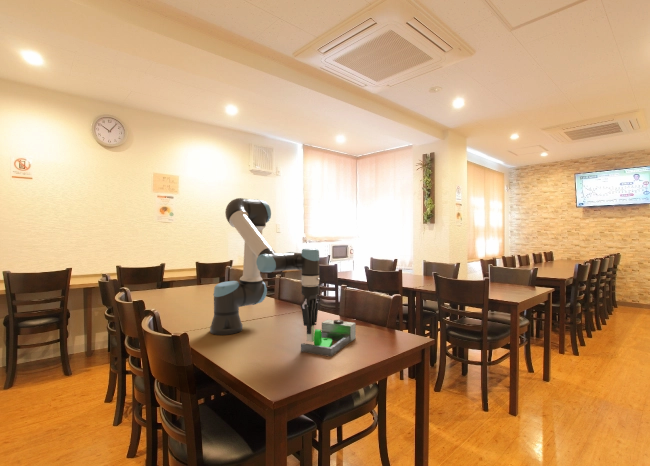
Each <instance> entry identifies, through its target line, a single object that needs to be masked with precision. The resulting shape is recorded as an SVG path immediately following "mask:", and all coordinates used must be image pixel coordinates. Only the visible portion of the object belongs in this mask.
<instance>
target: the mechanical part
mask: <svg viewBox="0 0 650 466" xmlns="http://www.w3.org/2000/svg"><path fill="white" fill-rule="evenodd" d="M321 332H322V328H321V329H316V328H314V341H313V345H318V346H324V347H331V346H332V345H333V340H332V339H331V338H322V334H321Z"/></svg>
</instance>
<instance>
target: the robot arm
mask: <svg viewBox="0 0 650 466" xmlns="http://www.w3.org/2000/svg"><path fill="white" fill-rule="evenodd" d="M271 217H272V210H271V206H270V204H268V202H267V201H265V200H262V199H259V198H257V199H253V198H242V197H239V198H234V199H232V200H231V201H230V202H228V204H227V205H226V208H225V218H226V220H227V223H228V224H229V225H230V226H231V227H233V228H235V230H236V231H237V232H238V234H239V235H240V237H241V238H242V239H243V241H244V245H243V246H244V247H243V249H244V250H243V263H242V264H243V266H242V267H243V269H242V276H240V278H239V281H238V280H230V281H228V280H227V281H222V282H220V283H217V284H216V285H215V286H214V289H213V317H212V321H211V325H210V328H209V332H210V334H212V335H215V336H216V335H217V336H226V335H234V334H237V333H240V332H242V331H243V322H242V320H241V317H240V309H239V308H240V307H246V306H254V305H257V304H260V303H263V302H264V300H265V298H266V297H267V293H268V288H267V284H266V283H265V282H264V281H263V278H262V276H261V273H272V272H273V273H274V272H283V271H285V272H286V271H301V295H302V296H303V303H300V308H301V314H302V322H303V326H305V327H306V342H311V343H312V342H313V343H314V333H315V326H317V322H318V314H319V313H318V312H319V305H320V299H318V295H320V280H321V279H320V259H321V258H320V251H319V249H317V248H302V249H301V252H294V251H290V252H281V253H277V252H276V251H275V250H274V249H273V248H272V246H271V245H270V243H269V242H268V241H267V240H266V239H265V237H264V236H263V229H265V228H266V227H267V226H266V225H267V223H268V222H269V221H270V219H271Z"/></svg>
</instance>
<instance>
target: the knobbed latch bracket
mask: <svg viewBox="0 0 650 466" xmlns="http://www.w3.org/2000/svg"><path fill="white" fill-rule="evenodd" d="M356 325H357V324H356V322H351V321H344V320H343V319H334V320H333V319H326V320H324V321H322V322H321V334H322V338H331V339H332V342H335V343H334V344H332V346H331V347H324V346H318V345H314V344H312V343H311V344H310V343H306V342H304V343H303V342H301V343H300V352H301V353H309V354H313V355H320V356H326V357H333V356H334V355H335V354H337V353H338V352H339V351H341V350H342V349H343V348H345V347H346V346H347V345H349V344H350V343H352V342H353V341H355V340H356V337H357V335H356V330H357V329H356Z"/></svg>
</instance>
